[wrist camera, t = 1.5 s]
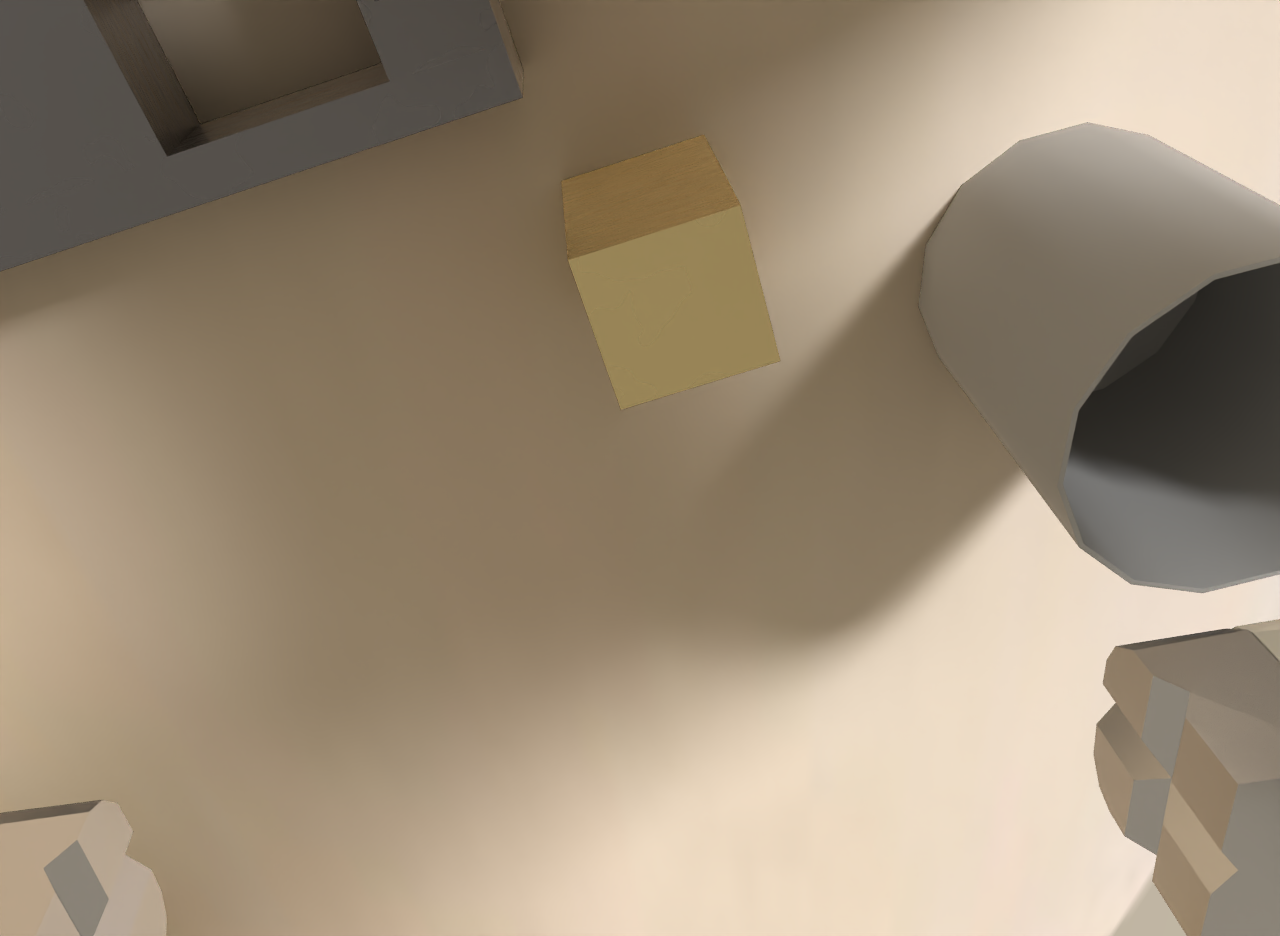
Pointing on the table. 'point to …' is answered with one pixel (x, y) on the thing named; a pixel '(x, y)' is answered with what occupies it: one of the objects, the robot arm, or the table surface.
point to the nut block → (666, 272)
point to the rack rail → (219, 149)
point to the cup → (1123, 347)
